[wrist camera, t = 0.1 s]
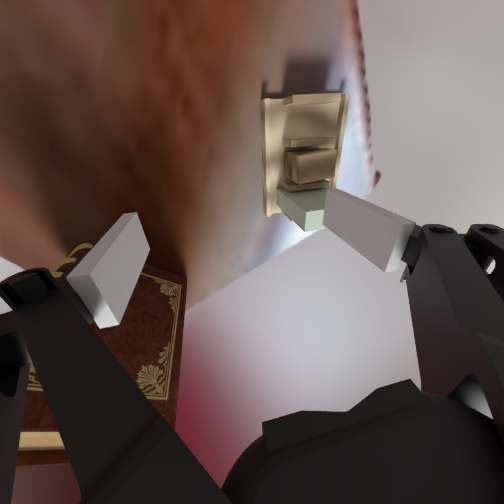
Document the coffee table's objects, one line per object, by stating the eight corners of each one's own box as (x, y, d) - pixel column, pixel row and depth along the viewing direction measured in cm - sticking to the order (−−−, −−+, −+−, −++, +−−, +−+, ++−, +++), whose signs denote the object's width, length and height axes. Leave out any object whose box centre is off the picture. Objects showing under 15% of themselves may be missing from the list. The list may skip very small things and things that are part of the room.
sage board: (276, 188, 42) (306, 212, 30) (321, 183, 43) (366, 203, 32) (276, 204, 44) (304, 231, 32) (319, 198, 45) (362, 222, 33)
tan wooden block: (284, 151, 39) (290, 152, 36) (318, 148, 40) (327, 149, 37) (283, 175, 41) (289, 179, 38) (316, 172, 42) (324, 175, 39)
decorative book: (66, 269, 42) (-132, 478, 17) (76, 238, 39) (-140, 430, 14) (174, 300, 52) (150, 461, 27) (188, 276, 49) (176, 431, 24)
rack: (326, 204, 47) (344, 215, 42) (263, 213, 45) (273, 225, 39) (341, 96, 37) (368, 90, 31) (260, 100, 35) (273, 94, 29)
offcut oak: (291, 154, 36) (298, 156, 33) (326, 147, 37) (336, 149, 34) (291, 180, 38) (299, 184, 35) (324, 173, 39) (334, 177, 36)
